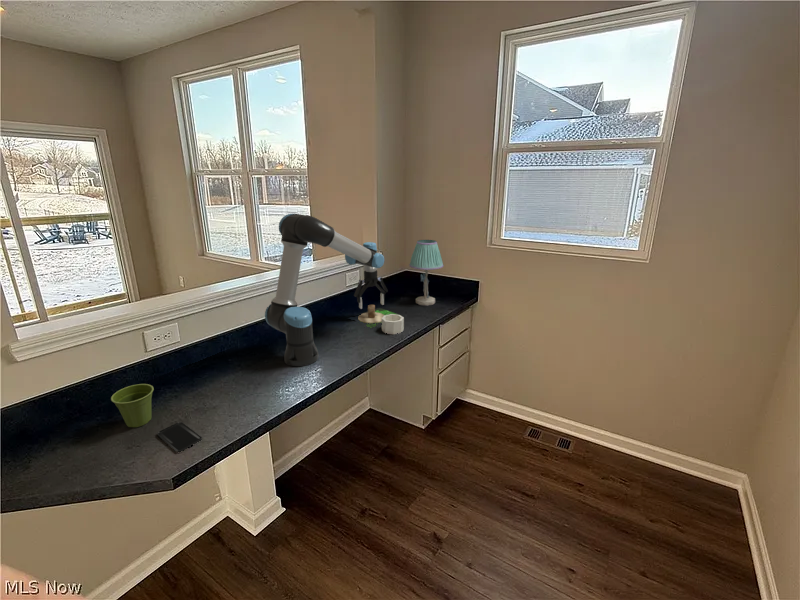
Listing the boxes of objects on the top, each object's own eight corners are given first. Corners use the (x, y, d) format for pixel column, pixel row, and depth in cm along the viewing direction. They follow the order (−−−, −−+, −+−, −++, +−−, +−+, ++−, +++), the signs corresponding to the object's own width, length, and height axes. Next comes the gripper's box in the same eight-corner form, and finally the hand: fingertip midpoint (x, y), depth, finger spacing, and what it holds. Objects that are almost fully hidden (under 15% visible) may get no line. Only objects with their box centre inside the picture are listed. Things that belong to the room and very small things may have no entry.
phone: (180, 421, 131) (203, 438, 123) (180, 423, 131) (203, 441, 123) (155, 433, 125) (177, 452, 117) (156, 436, 125) (178, 455, 117)
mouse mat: (369, 330, 208) (369, 328, 208) (344, 319, 223) (344, 318, 223) (404, 317, 227) (404, 315, 226) (379, 308, 241) (379, 306, 241)
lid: (364, 326, 214) (364, 312, 211) (353, 316, 227) (353, 303, 224) (390, 321, 221) (390, 307, 218) (378, 312, 234) (378, 299, 232)
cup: (388, 335, 201) (388, 323, 198) (379, 328, 210) (378, 316, 208) (406, 331, 206) (406, 319, 203) (397, 324, 215) (397, 313, 213)
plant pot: (133, 436, 125) (126, 406, 121) (110, 427, 129) (102, 398, 125) (167, 416, 135) (161, 388, 131) (145, 408, 139) (138, 380, 136)
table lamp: (406, 297, 261) (407, 238, 248) (438, 296, 263) (440, 238, 250) (411, 308, 240) (412, 244, 227) (445, 307, 242) (448, 244, 230)
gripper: (352, 274, 206) (353, 311, 213) (393, 269, 217) (393, 304, 224) (347, 271, 212) (348, 307, 219) (387, 266, 223) (388, 300, 230)
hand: (371, 306), depth 222 cm, fingers open, 13 cm apart
